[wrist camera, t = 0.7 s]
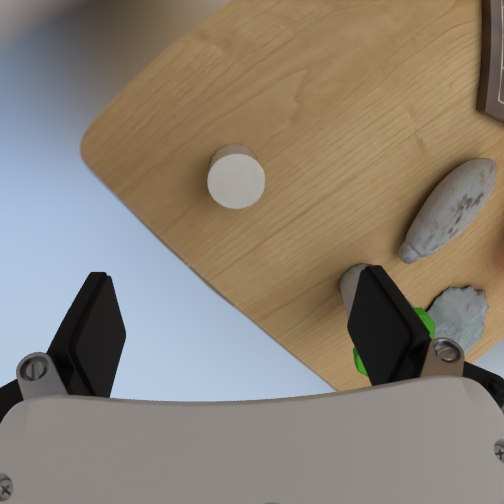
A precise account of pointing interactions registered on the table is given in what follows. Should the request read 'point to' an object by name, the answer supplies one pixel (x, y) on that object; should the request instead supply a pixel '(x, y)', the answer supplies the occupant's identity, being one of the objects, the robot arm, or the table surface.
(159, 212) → the table surface
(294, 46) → the table surface
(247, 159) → the white canister
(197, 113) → the table surface
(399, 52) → the table surface
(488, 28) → the board
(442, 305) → the stone
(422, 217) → the decorative stone
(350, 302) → the cup
